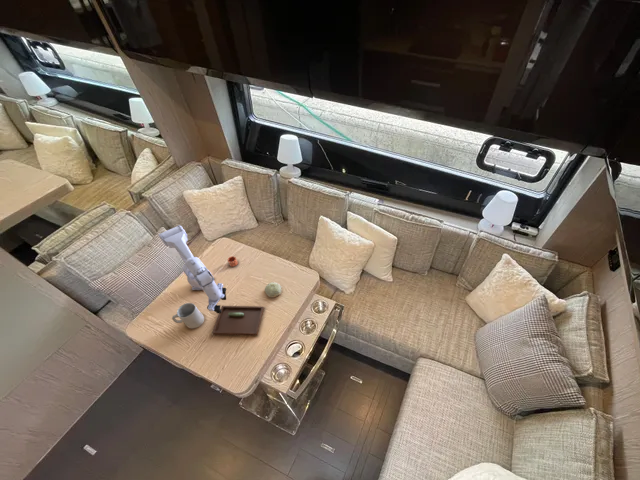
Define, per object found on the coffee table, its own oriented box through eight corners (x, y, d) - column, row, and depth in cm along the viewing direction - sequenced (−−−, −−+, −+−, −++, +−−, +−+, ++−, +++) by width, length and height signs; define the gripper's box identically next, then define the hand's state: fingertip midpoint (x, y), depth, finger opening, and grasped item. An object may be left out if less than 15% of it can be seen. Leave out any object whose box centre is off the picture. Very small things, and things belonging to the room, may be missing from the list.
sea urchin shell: (268, 300, 149) (262, 286, 147) (267, 298, 156) (262, 285, 155) (284, 293, 151) (279, 280, 150) (283, 292, 159) (278, 279, 158)
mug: (203, 311, 145) (195, 300, 136) (205, 325, 140) (196, 314, 131) (178, 319, 142) (168, 308, 133) (179, 333, 137) (168, 322, 128)
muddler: (227, 315, 141) (242, 315, 141) (228, 311, 142) (243, 311, 143) (228, 317, 143) (243, 317, 143) (229, 313, 144) (244, 313, 144)
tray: (213, 334, 137) (212, 333, 135) (223, 307, 147) (221, 305, 145) (257, 335, 137) (256, 333, 136) (264, 308, 147) (263, 306, 146)
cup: (228, 266, 165) (226, 262, 162) (231, 260, 168) (228, 256, 165) (236, 266, 165) (234, 262, 162) (238, 260, 168) (236, 256, 165)
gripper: (215, 303, 122) (225, 319, 132) (225, 277, 131) (234, 294, 142) (199, 303, 122) (210, 318, 132) (210, 277, 131) (220, 293, 141)
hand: (221, 305), depth 137 cm, fingers open, 7 cm apart
